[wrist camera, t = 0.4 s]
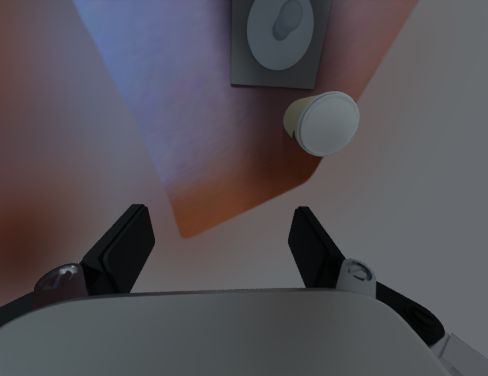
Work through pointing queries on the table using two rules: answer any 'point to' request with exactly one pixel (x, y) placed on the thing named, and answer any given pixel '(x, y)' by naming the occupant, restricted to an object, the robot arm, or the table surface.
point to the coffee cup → (322, 122)
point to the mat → (255, 74)
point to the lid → (279, 32)
